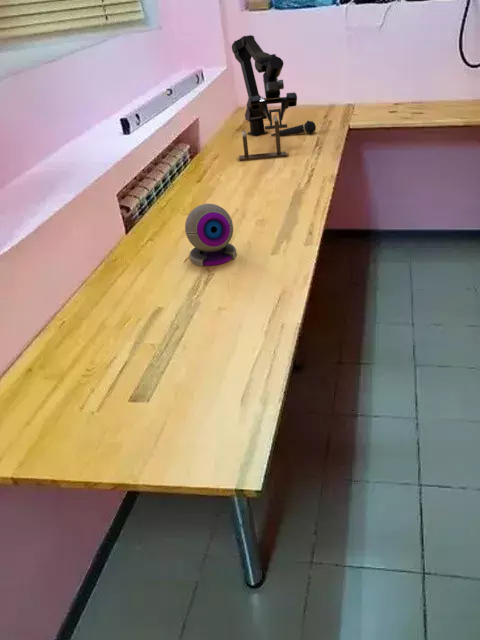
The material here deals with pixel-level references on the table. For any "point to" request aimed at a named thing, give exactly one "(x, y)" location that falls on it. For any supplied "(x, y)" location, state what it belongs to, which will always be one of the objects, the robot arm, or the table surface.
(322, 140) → the table surface
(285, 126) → the black piece
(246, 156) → the rack
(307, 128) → the microphone
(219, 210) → the webcam
